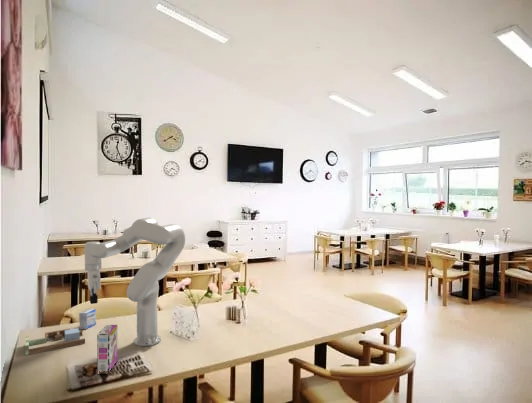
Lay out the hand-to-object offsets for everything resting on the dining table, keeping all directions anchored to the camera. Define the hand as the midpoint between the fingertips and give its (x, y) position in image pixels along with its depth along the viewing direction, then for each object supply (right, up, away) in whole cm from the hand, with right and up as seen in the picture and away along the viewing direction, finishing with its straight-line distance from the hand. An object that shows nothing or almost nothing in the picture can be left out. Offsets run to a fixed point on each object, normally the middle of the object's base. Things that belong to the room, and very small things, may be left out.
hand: (93, 303), depth 189 cm
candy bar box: (+21, -19, -32) cm, 43 cm away
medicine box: (-10, -17, +14) cm, 24 cm away
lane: (-16, -17, -6) cm, 24 cm away
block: (-8, -18, -5) cm, 20 cm away
